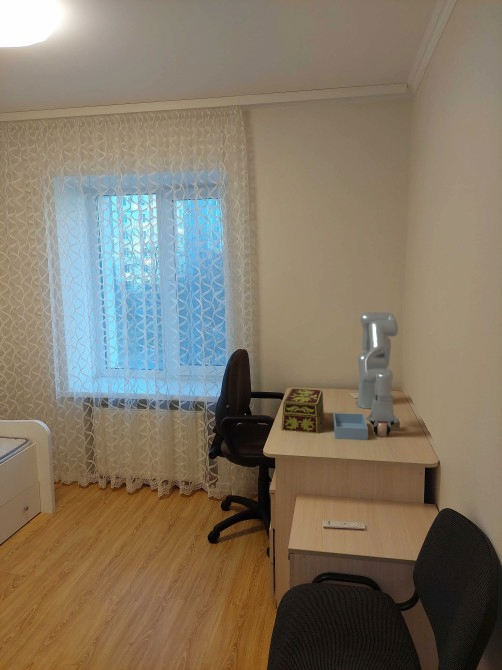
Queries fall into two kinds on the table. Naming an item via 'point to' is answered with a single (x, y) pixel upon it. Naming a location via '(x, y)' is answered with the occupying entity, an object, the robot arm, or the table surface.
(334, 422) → the tote
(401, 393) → the table surface
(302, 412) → the decorative box
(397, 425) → the walnut block
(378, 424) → the canister
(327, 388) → the table surface
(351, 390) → the table surface
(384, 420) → the robot arm
